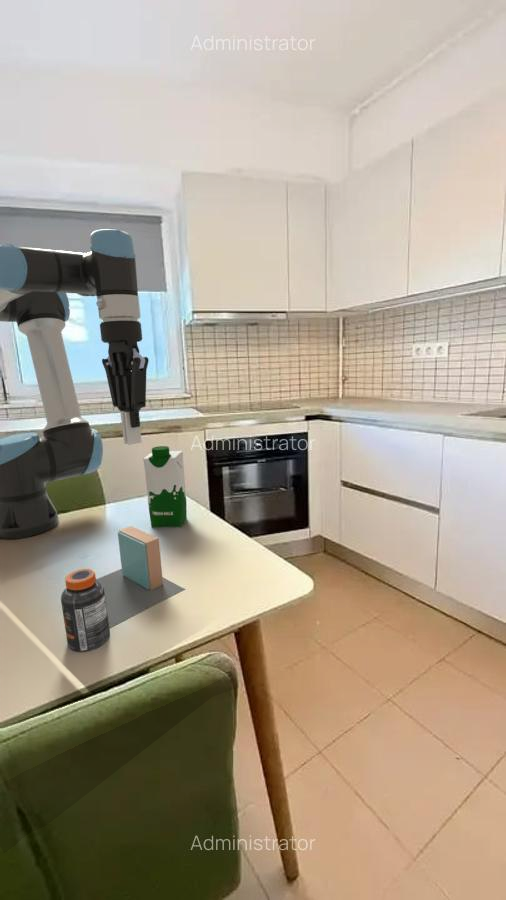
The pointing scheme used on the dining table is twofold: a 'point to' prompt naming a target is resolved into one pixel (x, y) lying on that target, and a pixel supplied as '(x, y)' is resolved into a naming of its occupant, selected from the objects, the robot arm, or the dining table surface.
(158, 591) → the mat
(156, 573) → the tile
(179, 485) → the milk carton
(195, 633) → the dining table surface
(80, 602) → the pill bottle
